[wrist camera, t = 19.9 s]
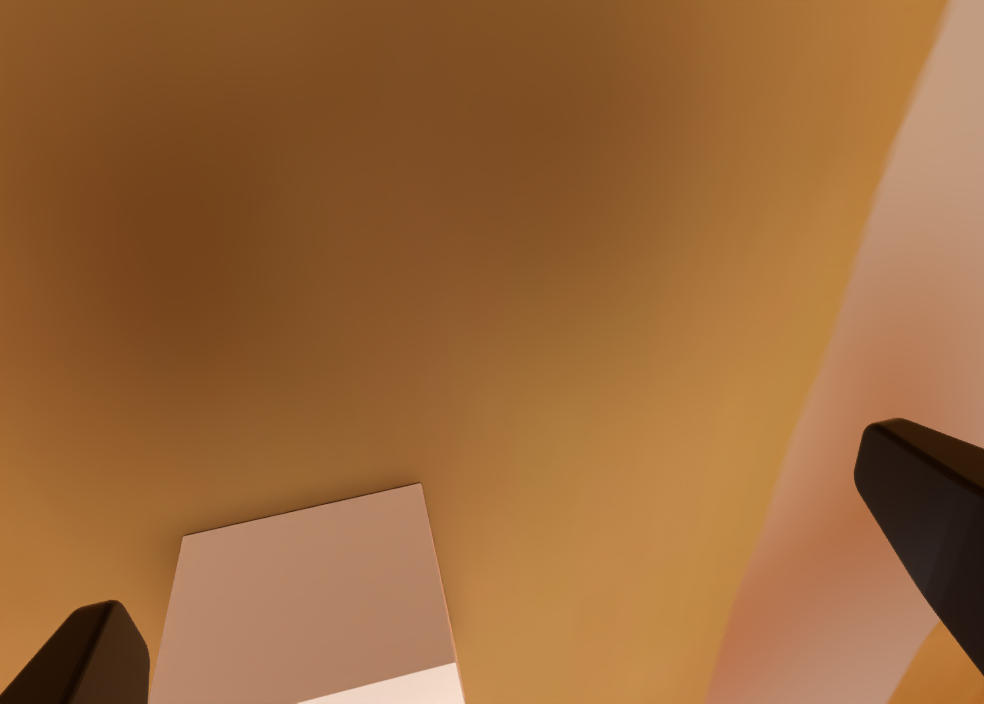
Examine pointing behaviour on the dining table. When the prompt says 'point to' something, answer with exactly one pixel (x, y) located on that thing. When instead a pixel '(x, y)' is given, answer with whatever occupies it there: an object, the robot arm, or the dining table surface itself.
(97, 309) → the dining table surface
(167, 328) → the dining table surface
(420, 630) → the pale pink cube
